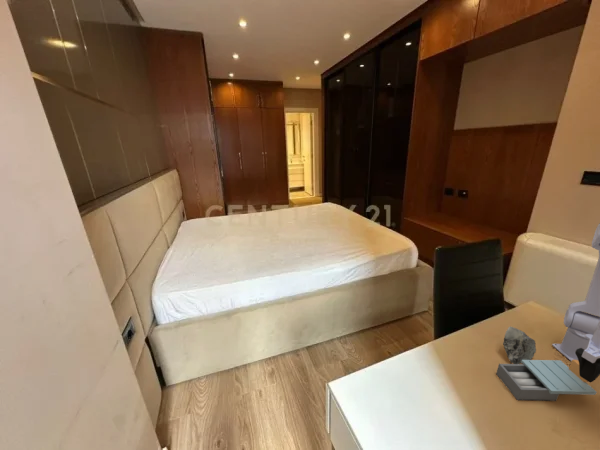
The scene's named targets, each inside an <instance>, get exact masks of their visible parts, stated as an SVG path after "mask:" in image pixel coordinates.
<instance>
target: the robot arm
mask: <svg viewBox="0 0 600 450" xmlns="http://www.w3.org/2000/svg"><path fill="white" fill-rule="evenodd" d="M591 248H593V249H595V250H597V251H598V260H597V262H596V266H595V269H594V271H593V274H592V277H591V281H590V284H589V287H588V289H587V293H586V296H585V300H583V301H577V302H576V301H575V302H572V303H570V304H569V305H568V307H567V308H568V309H566V311H565V314H564V317H563V325H564V327H566V331H565V333H564V336H563V339H562V341H561V343H552V344H551V345H552V346H553V347H554V349H556V350H557V351H559V352H560V353H561V354H562V355H563V356H564V357H565V358H567V359H568V360H569V361H570V363H571V362H572V360H578V361H579V374H580V376H581V377H582V378H584V379H585V380H587V381H588V382H587V383H589V384H590V383H593V382H594V381H596V380H597V379H598V377H599V376H600V223H598V224H597V226H596V229H595V231H594V235H593V238H592V240H591Z"/></svg>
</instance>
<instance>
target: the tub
mask: <svg viewBox="0 0 600 450" xmlns="http://www.w3.org/2000/svg"><path fill="white" fill-rule="evenodd" d="M495 374H496V376H497V377H498V378H499V380H501V382H502V383H503V385H504V386H505V387H506V388H507V390H508V391H509V393H511V394H512V396H513V397H514V398H515V399H516V401H524V402H525V401H529V402H532V401H534V402H557V399H558V398H559V396H560V394H550V393H549V390H548V389H547V388H546V387H545V386H544V385H543V384H542V383H541V382H540V381H539V380H538V378H537V377H536V376H535V375H534V374H533V373H532V372H531V371H530V370H529V369H528V368H527V367H526V366H525V365H524V364H522V363H519V364H513V363H498V367H497V370H496V373H495Z"/></svg>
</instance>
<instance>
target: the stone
mask: <svg viewBox="0 0 600 450" xmlns="http://www.w3.org/2000/svg"><path fill="white" fill-rule="evenodd" d="M502 345H503V348H504V351H505V353H506V355H507V358H508V360H509V361H510V364H522V363H521V360H533V358H534V357H535V354H536V351H537V349H536V345H537V344H536V340H535V339H533V338H531V337H530V336H529V335H528V334H526V333H525V332H524V331H523V330H521V329H518V328H516V327H514V326H511V325H510V326H508V328H507V329H506V331H505V334H504V338H503V342H502Z"/></svg>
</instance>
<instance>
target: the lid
mask: <svg viewBox="0 0 600 450" xmlns="http://www.w3.org/2000/svg"><path fill="white" fill-rule="evenodd" d="M520 364H524V365H525V366H526V367H527V368H528V369H529V370H530V371H531V372H532V373H533V374H534V375H535V376H536V377H537V378H538V380H539V381H540V382H541V383H542V384H543V385H544V386H545V387H546V388H547V389H548V390H549V393H550V394H559V395H585V396H586V395H594V396H595V395H596V394H597V390H595V389H594V388H593V387H592V386H591V385H589V384H588V383H589V382H588V381H587V380H585V379H584V378H582V377H581V376H580V374H579V361H578V360H572V362H571V361H570V363H569V364H570V365H569V366H568V365H567V364H566V363H564V362H563V360H559V359H558V360H557V359H555V360H554V359H531V360H521V363H520Z"/></svg>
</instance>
